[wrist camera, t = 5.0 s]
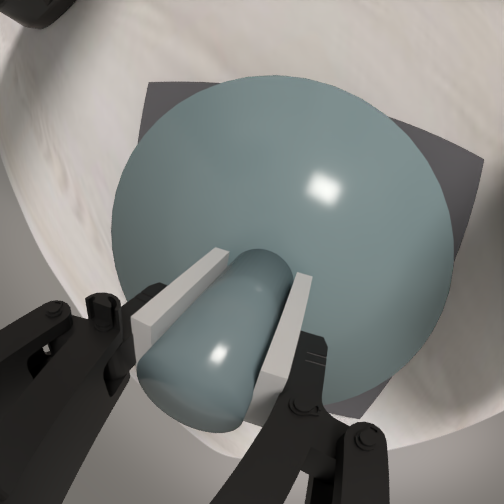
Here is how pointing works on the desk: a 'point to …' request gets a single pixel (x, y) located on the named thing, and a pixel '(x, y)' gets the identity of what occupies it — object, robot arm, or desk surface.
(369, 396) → the mat
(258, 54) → the desk surface
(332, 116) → the lid
